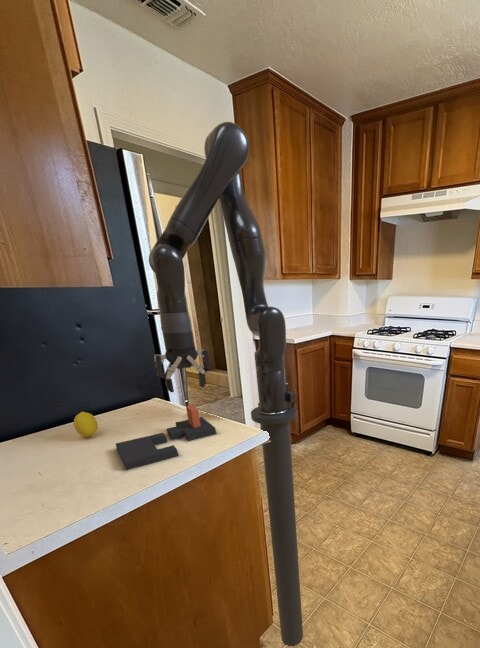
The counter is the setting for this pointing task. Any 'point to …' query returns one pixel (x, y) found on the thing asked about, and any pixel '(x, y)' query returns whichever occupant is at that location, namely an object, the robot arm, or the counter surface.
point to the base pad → (144, 451)
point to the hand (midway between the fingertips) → (187, 389)
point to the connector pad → (191, 426)
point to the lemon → (85, 424)
